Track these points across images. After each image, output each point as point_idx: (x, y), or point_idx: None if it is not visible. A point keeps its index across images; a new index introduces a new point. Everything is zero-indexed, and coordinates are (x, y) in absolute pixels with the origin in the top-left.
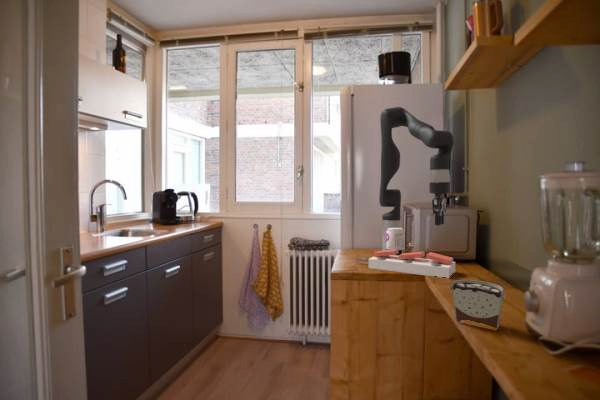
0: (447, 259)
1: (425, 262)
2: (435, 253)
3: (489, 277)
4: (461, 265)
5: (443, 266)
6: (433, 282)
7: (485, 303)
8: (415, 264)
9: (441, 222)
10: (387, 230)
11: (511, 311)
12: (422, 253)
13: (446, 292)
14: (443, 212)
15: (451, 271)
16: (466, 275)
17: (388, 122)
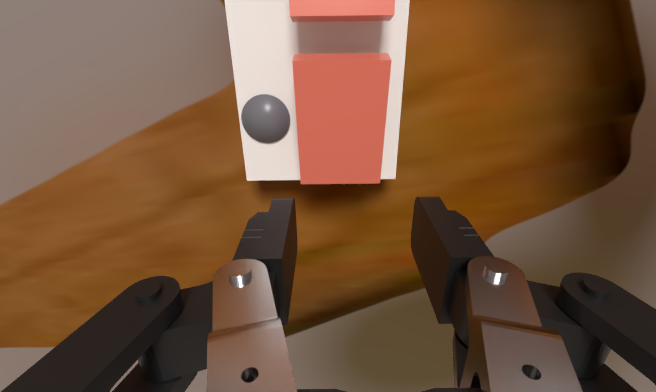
0: (310, 171)
1: (302, 49)
2: (385, 94)
3: (356, 270)
4: (537, 159)
5: (258, 155)
6: (154, 126)
7: None
8: (226, 8)
9: (417, 237)
10: None
11: (44, 334)
12: (343, 16)
13: (64, 194)
14: (455, 352)
15: None
16: (345, 207)
17: None
